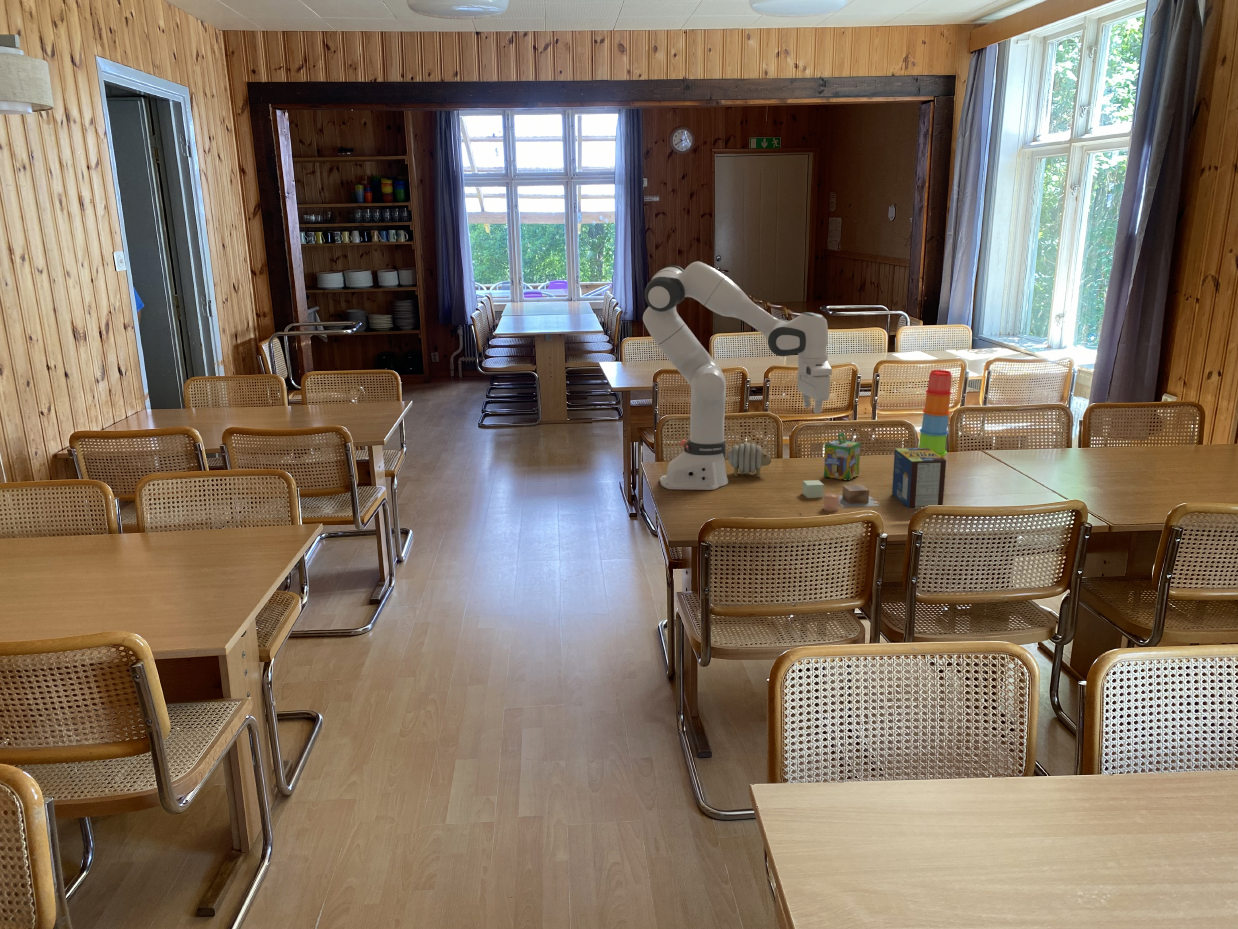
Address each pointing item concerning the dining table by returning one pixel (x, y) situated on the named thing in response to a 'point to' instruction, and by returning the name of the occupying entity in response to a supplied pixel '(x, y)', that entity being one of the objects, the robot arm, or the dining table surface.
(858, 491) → the walnut base block
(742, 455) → the toy sheep
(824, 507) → the terracotta cylinder
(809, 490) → the sage block
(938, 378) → the stacking cups
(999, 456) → the dining table surface
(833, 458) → the colorful toy box
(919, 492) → the protein box
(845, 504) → the slate board
